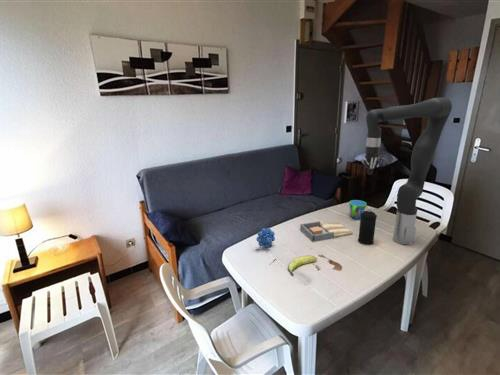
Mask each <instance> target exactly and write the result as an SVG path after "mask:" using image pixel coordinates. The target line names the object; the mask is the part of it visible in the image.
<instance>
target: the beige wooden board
mask: <svg viewBox="0 0 500 375" xmlns="http://www.w3.org/2000/svg"><path fill="white" fill-rule="evenodd" d="M320 228H321V229H322V230H323V231H325V232H326V233H329V232H334V238H336V239H337V238H342V237H346V236H347V237H348V236H352V235H353V232H352V231H351V230H350V229H348V228H347V227H345V226H344V225H343V224H341V223H340V222H339V221H332V222H326V223H322V224H321V223H320ZM334 238H333V239H334Z"/></svg>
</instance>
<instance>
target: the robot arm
mask: <svg viewBox="0 0 500 375" xmlns="http://www.w3.org/2000/svg"><path fill="white" fill-rule="evenodd" d="M452 107H453V103H452V100H450V99H449V98H447V97H433V98H429V99H426V100H423V101H420V102H417V103H413V104H407V105H397V106H396V105H395V106H389V107H386V108H376V109H370V110H369V111H367V113H366V117H365V118H366V119H365V121H366V126H367V135H366V136H367V137H366V141H365V152H364V153H365V156H364V158H363V159H361V160H360V161H361V163H362V164H363V167H365V168H367V171H366V172H367V175H369V176H371V175H373V174H374V169H375V168H377V167H378V166H379V165H380V164H381V162H382V158H381V157H380V155H379V154H380V151H381V141H382V140H381V137H382V128H381V127H380V126H379V125H378V123H381V122H390V121H400V120H405V119H411V118H413V119H414V118H426V119H428V121H427V125H426V127H425V129H424V130H423V132H422V133H421V134H420V136H419V137H418V138H417V140H416V142H415V144H414V145H413V149H412V153H411V158H410V172H409V176H408V179H407V181H406V182H405V183H404V184H402V185H400V187H399V188H398V191H397V193H396V194H397V196H396V215H395V221H394V222H395V224H394V229H393V237H392V240H393V241H394V242H395V241H396V242H395V243H397V242H398V243H397V244H400V243H401V245H403V244H404V245H403V246H406V245H405V244H408V245H411V244H410V243H413V244H414V241H415V237H416V231H417V227H416V226H415V225H416V221H417V216H418V215H417V213H418V207H417V199H418V198H419V197H421V196H422V194H423V191H424V186H425V182H426V178H427V175H428V172H429V170H430V167H431V164H432V163H433V162H432V161H433V159H434V156H435V153H436V151H437V146H438V144H439V142H440V141H439V140H440V139H441V136H442V132H443V130H444V127H445V125H446V123H447V121H448V119H449V117H450V114H451V112H452V109H453V108H452Z"/></svg>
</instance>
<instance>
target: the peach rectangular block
mask: <svg viewBox="0 0 500 375" xmlns="http://www.w3.org/2000/svg"><path fill="white" fill-rule="evenodd" d="M308 230H309V231H310V232H311V233H312V234H313V235H318V234H323V232H324V229H323V228H322V227H321V226H320V227H312V228H309V229H308Z"/></svg>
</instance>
